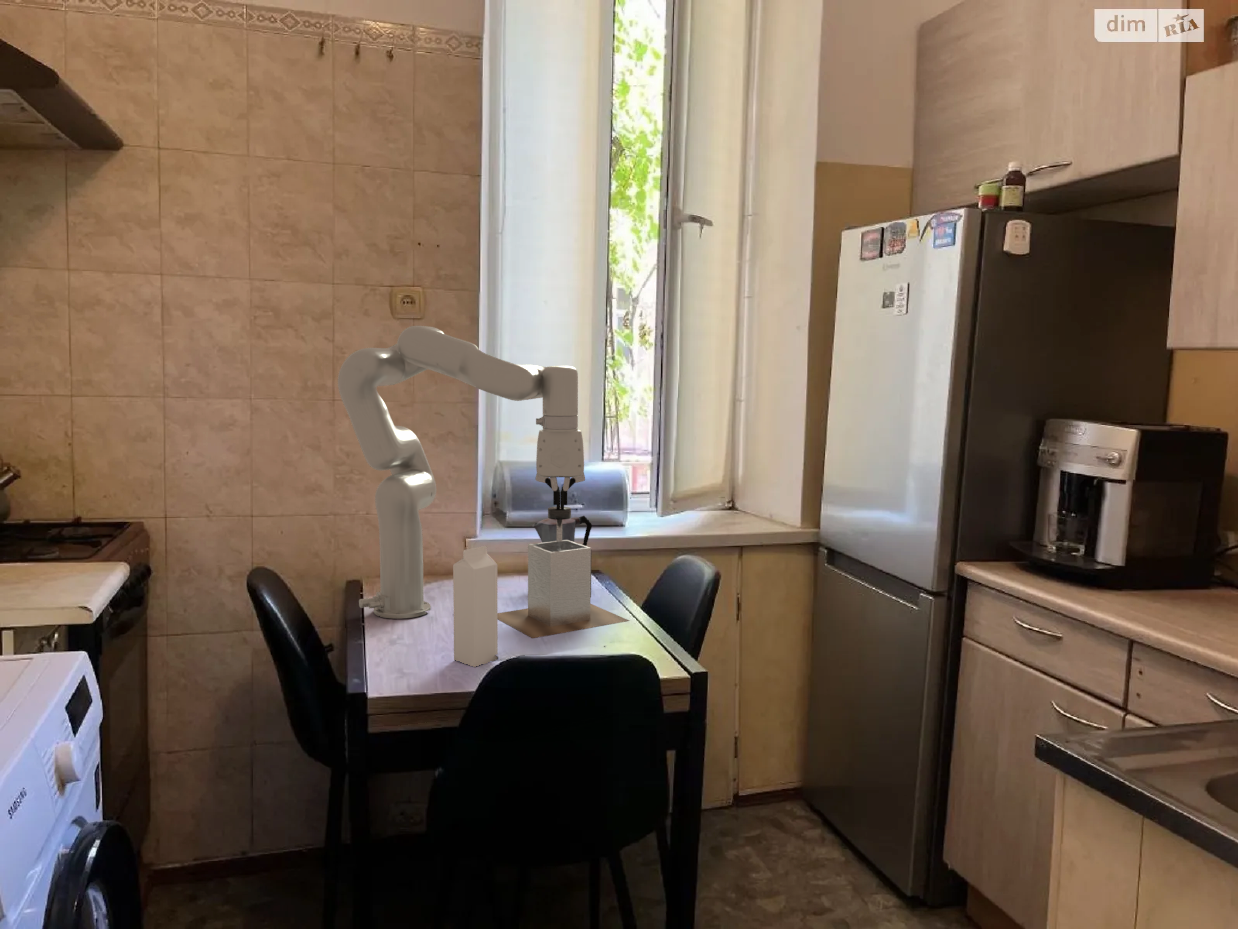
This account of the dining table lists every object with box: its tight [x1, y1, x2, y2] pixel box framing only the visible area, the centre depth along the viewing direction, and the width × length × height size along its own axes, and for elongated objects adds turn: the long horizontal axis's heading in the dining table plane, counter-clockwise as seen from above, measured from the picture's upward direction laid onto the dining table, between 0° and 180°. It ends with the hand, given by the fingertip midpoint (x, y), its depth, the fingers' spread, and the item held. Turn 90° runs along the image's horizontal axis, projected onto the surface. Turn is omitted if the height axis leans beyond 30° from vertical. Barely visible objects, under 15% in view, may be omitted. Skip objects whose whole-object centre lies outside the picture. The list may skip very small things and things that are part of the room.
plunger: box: [547, 506, 572, 551], centre depth 199 cm, size 8×8×13 cm
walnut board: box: [497, 603, 630, 639], centre depth 201 cm, size 24×20×1 cm
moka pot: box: [532, 515, 593, 547], centre depth 231 cm, size 10×15×20 cm, turn 115°
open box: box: [527, 540, 593, 627], centre depth 201 cm, size 13×10×16 cm
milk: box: [452, 545, 499, 668], centre depth 175 cm, size 6×6×22 cm
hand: (560, 508), depth 198 cm, fingers closed
